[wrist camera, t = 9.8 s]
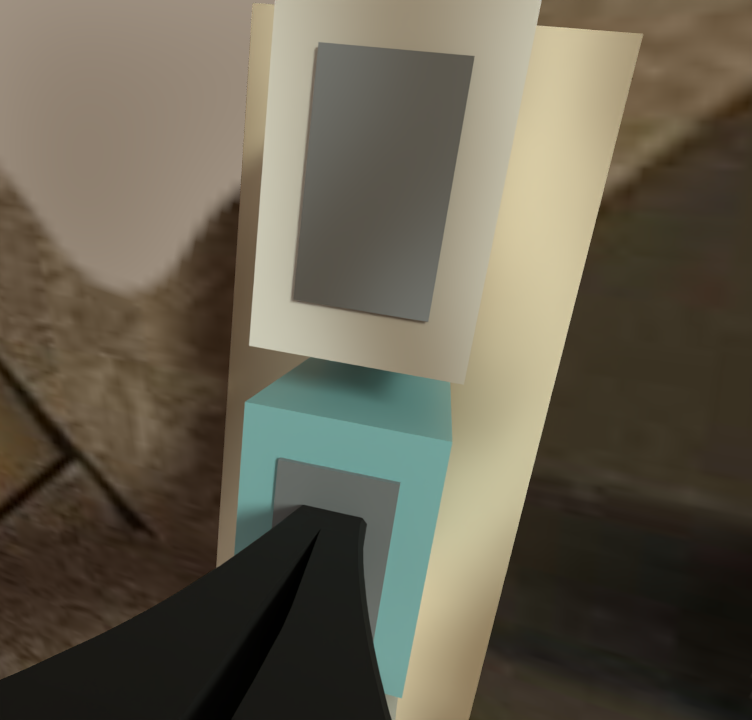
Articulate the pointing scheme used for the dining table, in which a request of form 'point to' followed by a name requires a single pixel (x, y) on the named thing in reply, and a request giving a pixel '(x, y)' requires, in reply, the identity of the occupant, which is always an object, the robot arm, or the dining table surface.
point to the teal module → (354, 478)
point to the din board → (424, 252)
